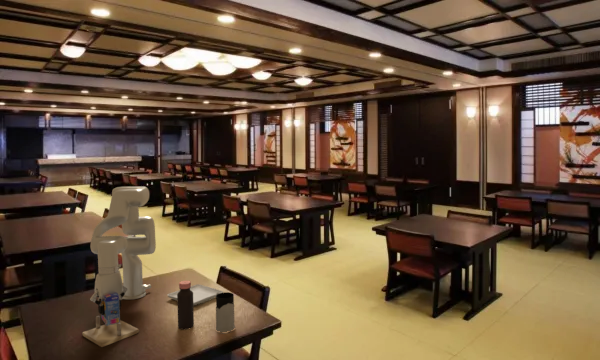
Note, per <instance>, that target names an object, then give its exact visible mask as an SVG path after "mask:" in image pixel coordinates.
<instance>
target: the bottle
mask: <svg viewBox="0 0 600 360" xmlns="http://www.w3.org/2000/svg"><path fill="white" fill-rule="evenodd" d="M178 286H179V287H178V288H179V289H178V290H180V291H179V292H178V294H177V300H176V301H177V303H176V304H177V328H178V329H180V330H184V329H185V330H189V328H190V329H192V328H193V327H194V325H195V322H194V321H195V320H194V319H195V318H194V317H195V315H194V313H195V312H194V305H193V292H192V291H191V290H190V288H191V286H192V282H191V281H190V280H182V281H180V282H178Z"/></svg>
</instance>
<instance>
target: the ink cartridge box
mask: <svg viewBox="0 0 600 360" xmlns="http://www.w3.org/2000/svg"><path fill="white" fill-rule="evenodd" d="M103 305H104V311H105V314H104V315H101V314H100V315H101V316H100V319H101V320H102V321H103V323H104V325H105V324H106V326H108V325H113V324H117V323H120V320H121V315H120V314H121V311H120V310H121V309H120V310H119V295H118V293H113V294H110V295H107V296H105V298H104V303H103Z"/></svg>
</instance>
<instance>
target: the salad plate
mask: <svg viewBox="0 0 600 360" xmlns="http://www.w3.org/2000/svg"><path fill="white" fill-rule="evenodd" d="M190 290H191V291H192V292H193V306H198V305H200V303H201V304H203V303H206V302H208V301H210V299H211V300H213V299H216V298H215V297H216V294H217V293H224V291H223V290H220V289H217V288H214V287H211V286H208V285H203V284H199V283H196V284H194V285H191V288H190ZM179 291H180V289H178V290H176V291H173V292H169V293H168V294H166V297H168V298H170V299H172V300H175V301H177V294H178V292H179ZM205 301H206V302H205ZM197 304H198V305H197Z"/></svg>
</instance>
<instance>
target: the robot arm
mask: <svg viewBox="0 0 600 360" xmlns="http://www.w3.org/2000/svg"><path fill="white" fill-rule="evenodd" d="M149 200H150V190H149V188H148V187H146V186H117V187H115V188H113V189H112V192H111V198H110V202H109V203H110V204H109V209H108V213H107V216H106V217H104V218H103V219H102V220H101V221H100V222H99V223H98V224H97V225H96V226H95V227H94V229H93V232H92V236H91V240H90V246H89V247H90V250H91V252H92V253H93V254H94V255H97V259H98V260H97V263H98V264H97V265H98V266H97V267H98V273H97V274H96V275H95V276H96V277H95V281H94V293H93V294H92V295H91V297H90V298H89V300H90V301H91V302H93V303H95V304H96V305H97V306H98V309H97V310H98V313H99V314H100V315H104V314H105V311H104V305H103V303H104V298H105V296H107V295H110V294H113V293H118V295H119V310H121V307H122V300H127V301H129V300H139V299H141V298H144V297H145V296H146V295H147V291H146V290H147V289H151V288H152V285H151V284H143V283H144V282H143V279H144V278H143V262H142V260H141V258H140V257H139V256H140V255H141V256H144V255H153V254H154V253H155V252H156V247H157V243H156V241H157V240H156V225H155V220H154V219H153V217H152V216H140V212H139V208H140V207H143V206H145V205H146V204H147V203H148V201H149ZM119 226H121V228H122V233H123V234H124V235H126V237H125V236H124V235H123V236H122V235H109V236H107V235H105V236H104V234H105V233H106V232H108V231H110V230H112V229H115V228H116V227H119ZM141 235H142V236H141ZM143 235H144V236H143ZM127 236H128V237H127ZM119 254H121V260H122V264H121V263H120V264H119ZM120 268H122V274H121V271H120V270H119V269H120Z"/></svg>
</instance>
